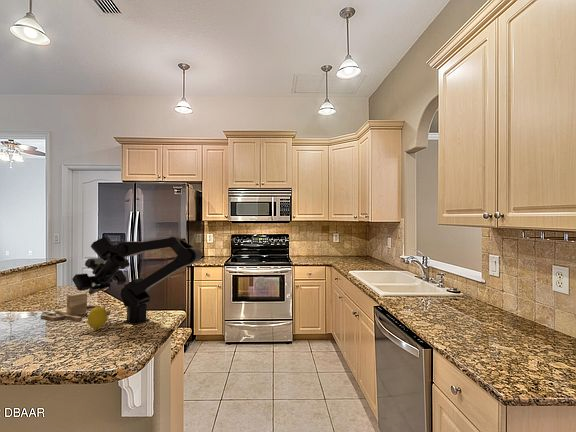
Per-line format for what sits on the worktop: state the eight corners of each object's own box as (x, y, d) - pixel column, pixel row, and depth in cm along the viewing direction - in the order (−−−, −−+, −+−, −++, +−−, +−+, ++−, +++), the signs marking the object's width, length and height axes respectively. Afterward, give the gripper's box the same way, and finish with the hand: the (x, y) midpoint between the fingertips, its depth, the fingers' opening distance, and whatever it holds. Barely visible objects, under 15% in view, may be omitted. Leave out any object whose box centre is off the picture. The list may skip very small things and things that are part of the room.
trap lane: (118, 311, 126) (118, 308, 126) (67, 323, 108) (67, 320, 108) (83, 306, 136) (83, 303, 136) (31, 316, 118) (31, 313, 118)
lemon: (110, 327, 104) (111, 304, 105) (98, 332, 99) (99, 307, 99) (95, 327, 105) (96, 303, 105) (82, 332, 99) (84, 307, 100)
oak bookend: (86, 313, 124) (87, 293, 125) (70, 316, 119) (72, 295, 119) (69, 310, 129) (70, 291, 129) (53, 313, 123) (55, 293, 124)
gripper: (123, 250, 127) (103, 275, 130) (77, 252, 110) (56, 280, 113) (135, 270, 123) (115, 295, 127) (90, 275, 106) (68, 304, 109)
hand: (90, 293), depth 119 cm, fingers closed
